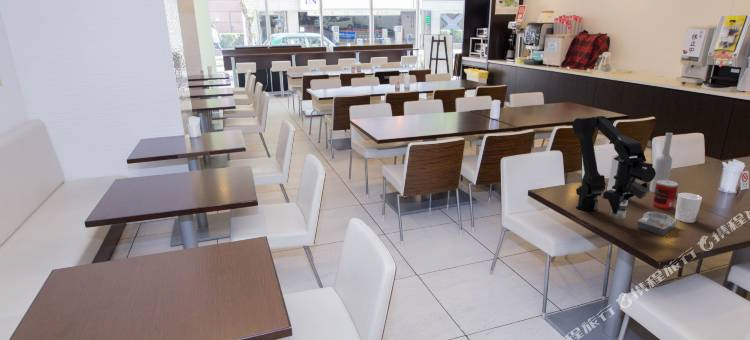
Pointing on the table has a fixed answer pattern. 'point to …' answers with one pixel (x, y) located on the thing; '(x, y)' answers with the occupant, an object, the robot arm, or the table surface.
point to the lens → (621, 210)
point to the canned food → (665, 194)
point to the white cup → (687, 207)
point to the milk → (613, 173)
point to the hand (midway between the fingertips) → (618, 212)
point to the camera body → (657, 222)
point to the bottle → (662, 163)
